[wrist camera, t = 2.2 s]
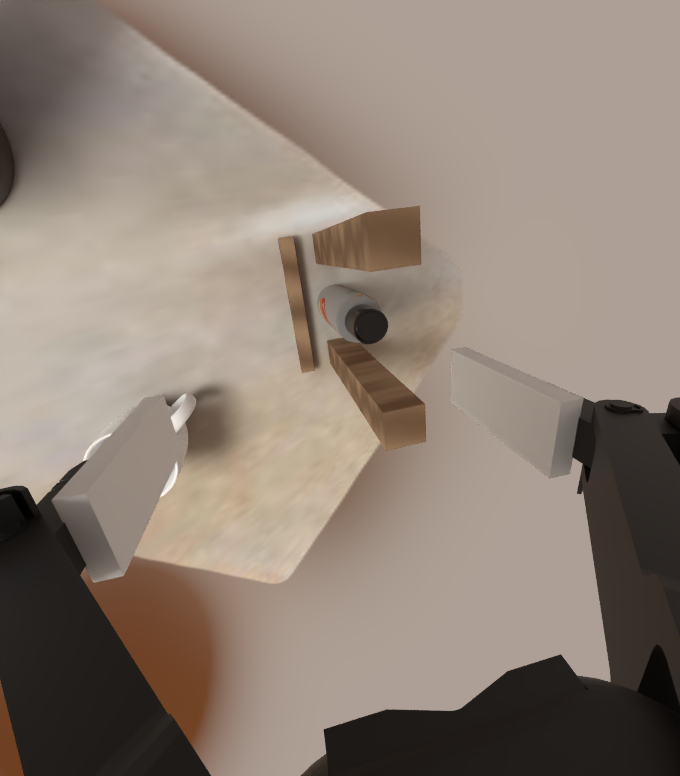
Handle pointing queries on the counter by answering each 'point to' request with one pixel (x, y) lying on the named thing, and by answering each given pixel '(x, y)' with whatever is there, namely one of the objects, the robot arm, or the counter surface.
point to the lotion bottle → (352, 314)
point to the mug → (179, 416)
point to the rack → (349, 359)
